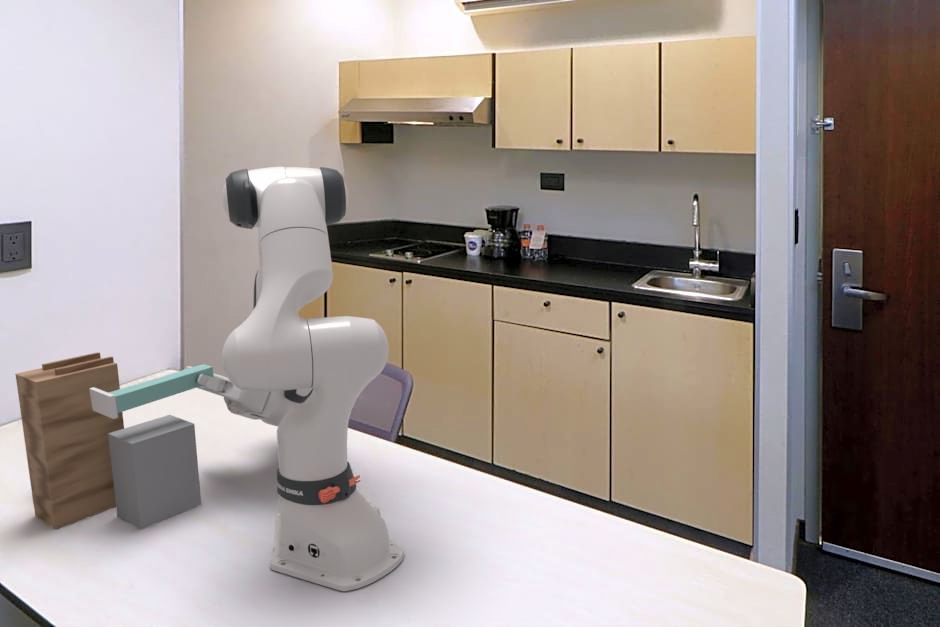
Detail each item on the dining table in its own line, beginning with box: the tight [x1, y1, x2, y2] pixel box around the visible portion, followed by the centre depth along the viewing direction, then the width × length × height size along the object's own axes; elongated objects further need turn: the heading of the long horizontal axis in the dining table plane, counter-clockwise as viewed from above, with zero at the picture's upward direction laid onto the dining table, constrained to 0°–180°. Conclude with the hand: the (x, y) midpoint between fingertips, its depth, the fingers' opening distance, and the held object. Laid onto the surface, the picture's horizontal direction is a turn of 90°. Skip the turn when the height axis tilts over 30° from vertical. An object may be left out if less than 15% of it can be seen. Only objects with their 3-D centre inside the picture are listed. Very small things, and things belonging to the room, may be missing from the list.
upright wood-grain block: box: [15, 352, 125, 530], centre depth 137 cm, size 8×14×28 cm, turn 143°
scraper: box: [89, 363, 214, 419], centre depth 136 cm, size 7×21×4 cm, turn 143°
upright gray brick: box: [108, 414, 202, 530], centre depth 137 cm, size 8×12×16 cm, turn 143°
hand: (190, 375), depth 141 cm, fingers closed on scraper, 3 cm apart
